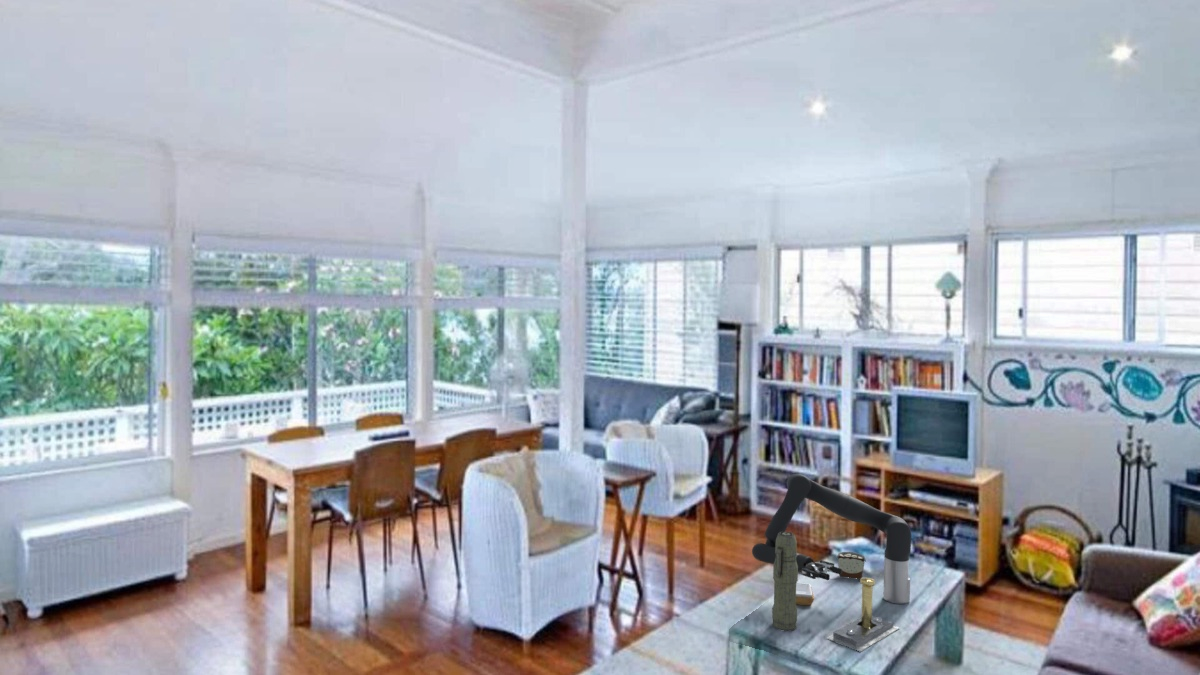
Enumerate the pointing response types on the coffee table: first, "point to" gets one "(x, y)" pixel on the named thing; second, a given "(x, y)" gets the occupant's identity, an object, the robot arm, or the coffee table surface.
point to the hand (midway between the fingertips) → (835, 574)
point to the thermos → (785, 582)
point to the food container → (851, 564)
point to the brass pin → (867, 602)
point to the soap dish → (804, 594)
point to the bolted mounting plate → (863, 633)
